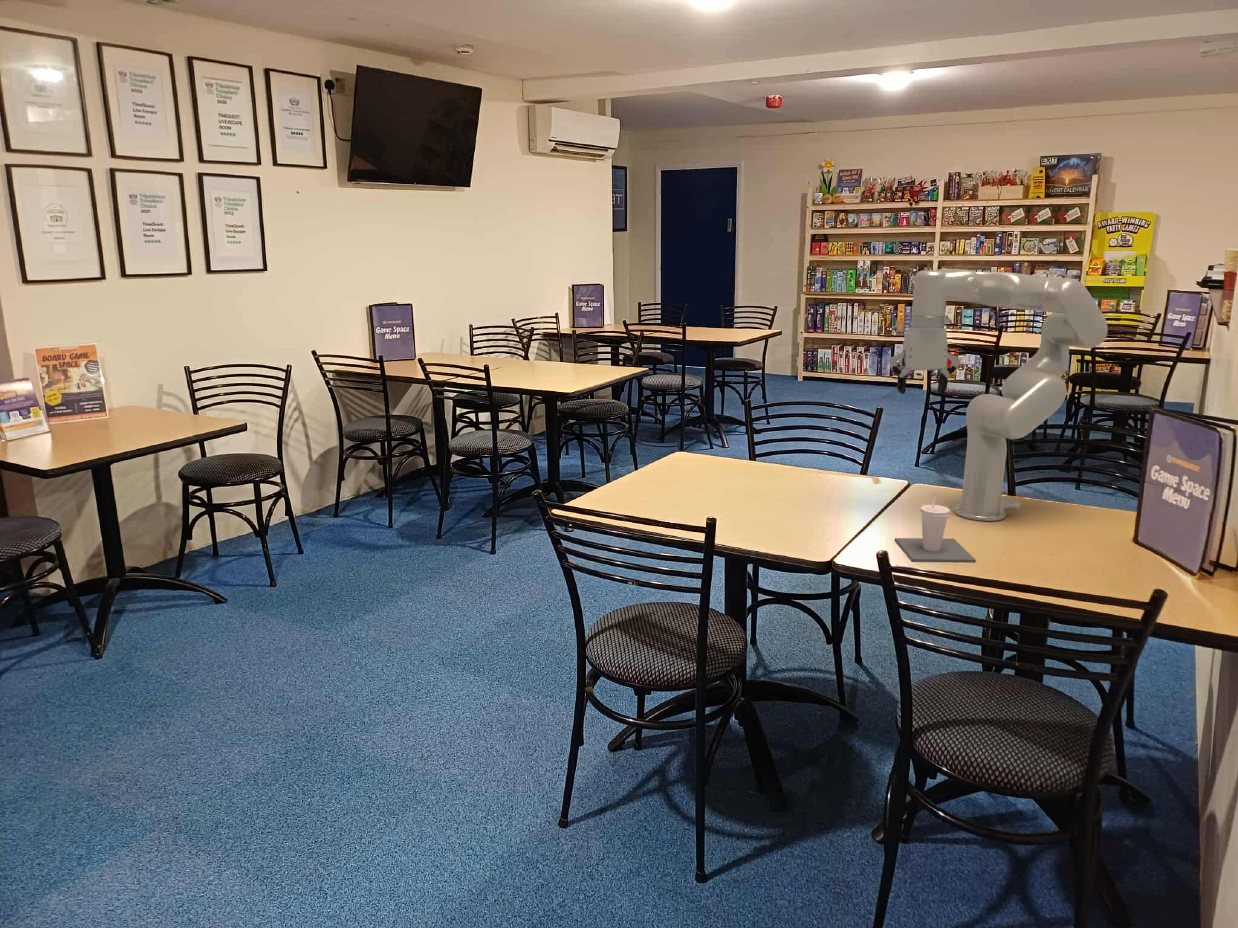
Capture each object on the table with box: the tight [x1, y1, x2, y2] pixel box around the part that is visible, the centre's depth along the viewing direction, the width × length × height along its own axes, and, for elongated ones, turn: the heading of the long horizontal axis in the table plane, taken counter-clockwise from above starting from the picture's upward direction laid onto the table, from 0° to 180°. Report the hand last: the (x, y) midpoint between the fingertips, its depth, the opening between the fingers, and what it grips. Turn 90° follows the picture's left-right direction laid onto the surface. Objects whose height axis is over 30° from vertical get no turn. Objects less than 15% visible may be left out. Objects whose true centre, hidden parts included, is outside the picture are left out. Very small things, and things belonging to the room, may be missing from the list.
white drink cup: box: [919, 489, 951, 551], centre depth 198 cm, size 6×6×14 cm
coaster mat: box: [894, 537, 977, 563], centre depth 200 cm, size 14×14×1 cm
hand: (921, 392), depth 213 cm, fingers open, 9 cm apart
